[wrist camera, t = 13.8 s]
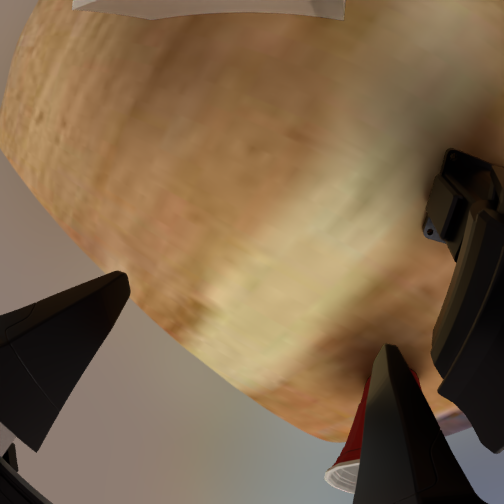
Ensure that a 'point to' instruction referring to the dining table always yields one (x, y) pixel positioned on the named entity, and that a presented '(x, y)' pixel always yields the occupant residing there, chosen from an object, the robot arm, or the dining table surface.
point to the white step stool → (212, 7)
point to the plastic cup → (352, 450)
